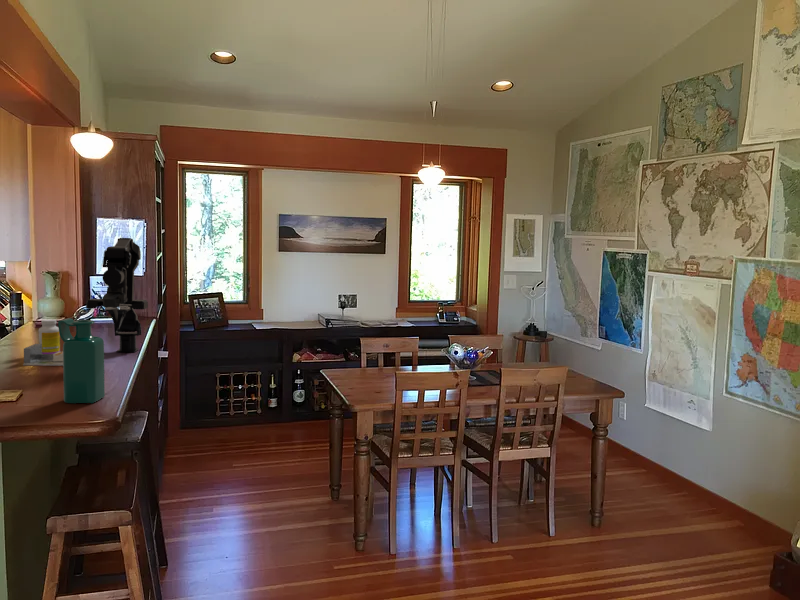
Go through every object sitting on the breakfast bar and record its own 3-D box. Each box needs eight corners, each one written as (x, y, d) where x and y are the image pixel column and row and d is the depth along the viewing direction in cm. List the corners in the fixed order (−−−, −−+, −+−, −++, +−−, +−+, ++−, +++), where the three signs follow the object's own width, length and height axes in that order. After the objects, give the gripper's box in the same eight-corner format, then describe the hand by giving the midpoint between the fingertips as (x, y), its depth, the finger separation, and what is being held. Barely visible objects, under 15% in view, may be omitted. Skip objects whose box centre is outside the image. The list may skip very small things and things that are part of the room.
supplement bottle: (63, 355, 224) (63, 320, 223) (44, 358, 219) (44, 322, 217) (54, 353, 228) (53, 318, 227) (35, 355, 222) (34, 320, 221)
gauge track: (36, 359, 216) (36, 343, 216) (79, 359, 218) (78, 344, 218) (23, 365, 206) (22, 348, 206) (68, 365, 208) (67, 349, 208)
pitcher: (107, 396, 173) (106, 318, 171) (93, 404, 165) (92, 322, 162) (71, 395, 173) (70, 317, 170) (55, 403, 164) (54, 321, 162)
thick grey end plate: (59, 358, 215) (59, 349, 215) (99, 358, 217) (99, 349, 217) (50, 363, 208) (49, 353, 207) (91, 363, 209) (91, 354, 209)
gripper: (79, 285, 203) (80, 332, 205) (139, 286, 206) (139, 333, 207) (91, 282, 214) (92, 327, 216) (148, 283, 217) (148, 328, 218)
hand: (117, 328), depth 214 cm, fingers closed
